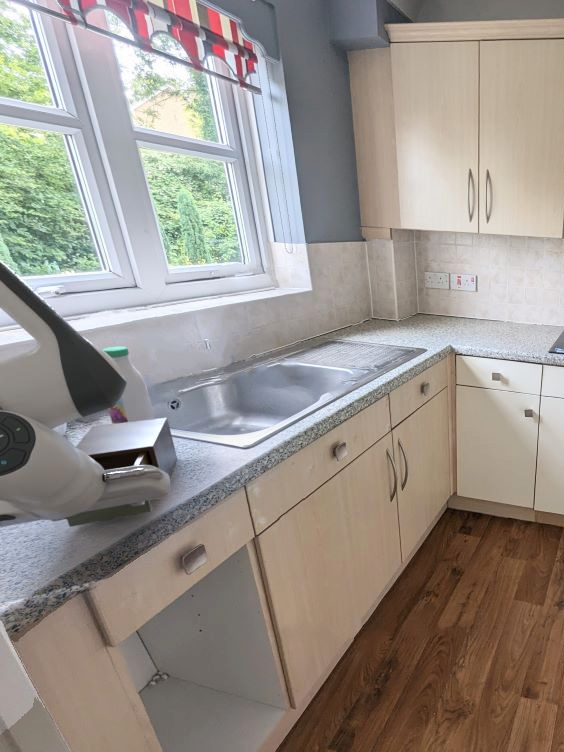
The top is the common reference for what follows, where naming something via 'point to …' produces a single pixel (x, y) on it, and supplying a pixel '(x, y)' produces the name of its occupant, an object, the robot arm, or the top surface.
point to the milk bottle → (130, 391)
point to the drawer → (121, 510)
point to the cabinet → (133, 441)
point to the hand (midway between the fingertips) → (101, 508)
